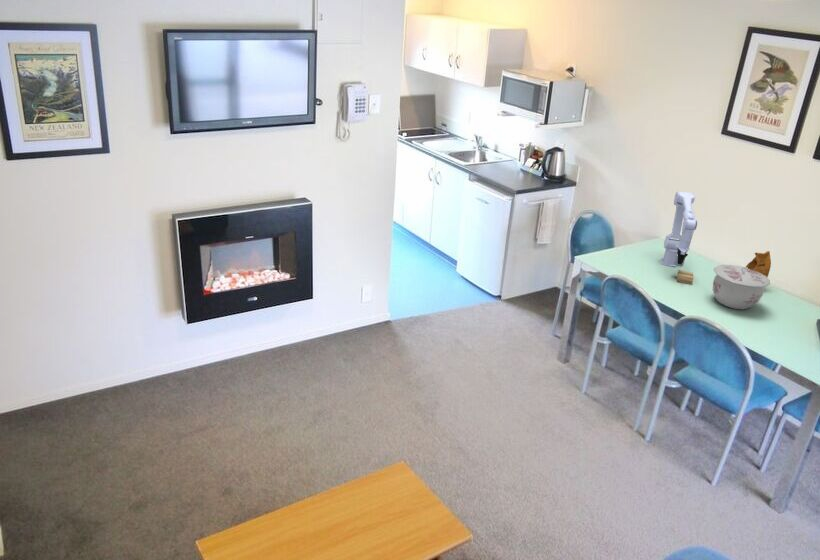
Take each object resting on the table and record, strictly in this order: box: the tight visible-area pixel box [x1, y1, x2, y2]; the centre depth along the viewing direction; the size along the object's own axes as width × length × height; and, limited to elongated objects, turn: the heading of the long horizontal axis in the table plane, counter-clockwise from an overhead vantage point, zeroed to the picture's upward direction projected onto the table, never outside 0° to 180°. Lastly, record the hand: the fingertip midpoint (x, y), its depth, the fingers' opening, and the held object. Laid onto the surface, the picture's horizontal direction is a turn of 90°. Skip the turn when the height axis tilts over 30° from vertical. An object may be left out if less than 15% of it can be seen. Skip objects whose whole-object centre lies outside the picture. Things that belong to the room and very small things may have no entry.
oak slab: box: [676, 269, 695, 283], centre depth 377 cm, size 8×8×2 cm
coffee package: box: [745, 250, 772, 278], centre depth 373 cm, size 10×12×22 cm
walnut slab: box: [676, 276, 693, 286], centre depth 378 cm, size 8×8×2 cm
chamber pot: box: [712, 264, 771, 310], centre depth 351 cm, size 28×28×21 cm
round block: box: [674, 255, 686, 268], centre depth 378 cm, size 5×5×4 cm
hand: (679, 262), depth 378 cm, fingers closed on round block, 5 cm apart
